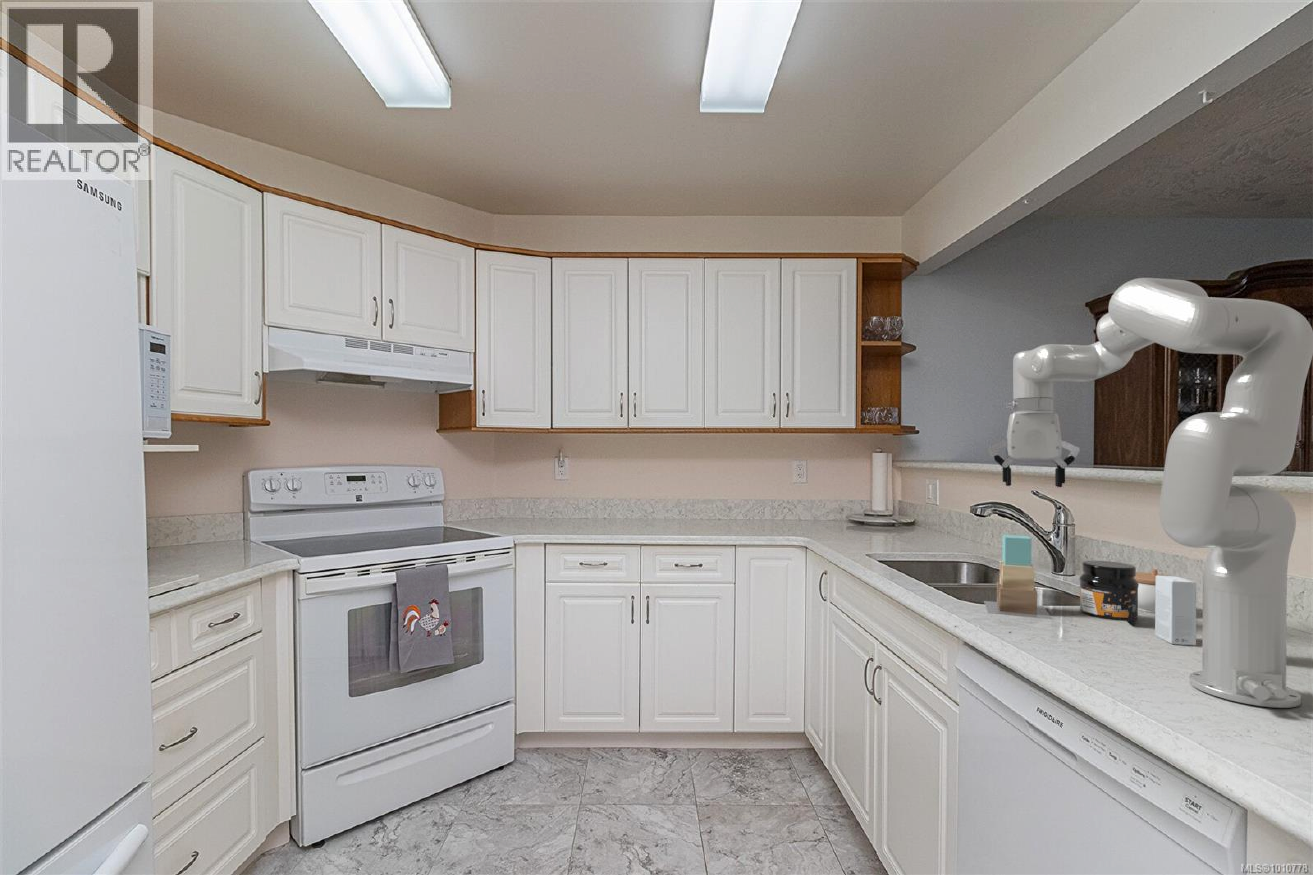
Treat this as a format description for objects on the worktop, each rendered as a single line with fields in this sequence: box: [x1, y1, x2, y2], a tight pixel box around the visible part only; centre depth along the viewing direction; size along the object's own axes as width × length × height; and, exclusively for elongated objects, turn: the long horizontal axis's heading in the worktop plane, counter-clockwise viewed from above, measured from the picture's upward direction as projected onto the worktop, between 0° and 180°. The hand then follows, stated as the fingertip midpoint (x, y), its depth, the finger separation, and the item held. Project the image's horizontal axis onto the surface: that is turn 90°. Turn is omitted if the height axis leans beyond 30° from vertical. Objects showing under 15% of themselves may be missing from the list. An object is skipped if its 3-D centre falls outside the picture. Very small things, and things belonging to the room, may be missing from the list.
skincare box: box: [1154, 575, 1197, 646], centre depth 127 cm, size 6×4×12 cm
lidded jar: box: [1134, 568, 1171, 614], centre depth 150 cm, size 11×11×9 cm
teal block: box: [1001, 534, 1032, 567], centre depth 145 cm, size 5×5×6 cm
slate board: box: [983, 600, 1053, 620], centre depth 145 cm, size 12×12×1 cm
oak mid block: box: [999, 560, 1035, 591], centre depth 145 cm, size 6×6×5 cm
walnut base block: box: [996, 581, 1038, 615], centre depth 145 cm, size 7×7×5 cm
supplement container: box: [1079, 559, 1139, 626], centre depth 142 cm, size 10×10×12 cm
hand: (1033, 486), depth 143 cm, fingers open, 9 cm apart
